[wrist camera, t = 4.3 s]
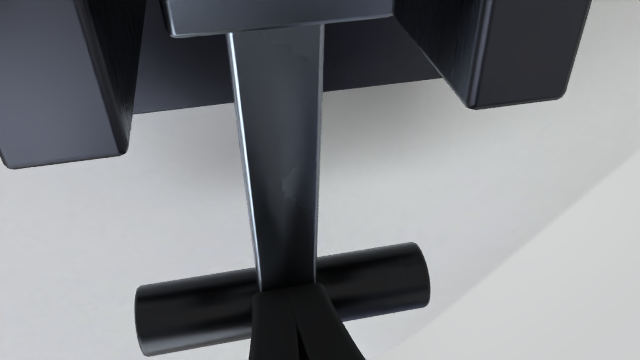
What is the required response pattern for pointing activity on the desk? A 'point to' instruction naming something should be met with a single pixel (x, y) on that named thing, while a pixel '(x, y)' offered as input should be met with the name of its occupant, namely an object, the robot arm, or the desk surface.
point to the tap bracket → (214, 73)
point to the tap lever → (276, 180)
